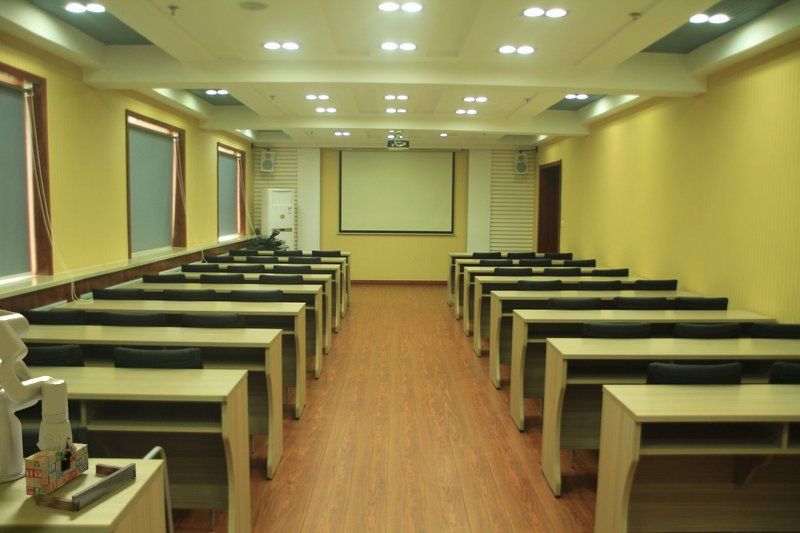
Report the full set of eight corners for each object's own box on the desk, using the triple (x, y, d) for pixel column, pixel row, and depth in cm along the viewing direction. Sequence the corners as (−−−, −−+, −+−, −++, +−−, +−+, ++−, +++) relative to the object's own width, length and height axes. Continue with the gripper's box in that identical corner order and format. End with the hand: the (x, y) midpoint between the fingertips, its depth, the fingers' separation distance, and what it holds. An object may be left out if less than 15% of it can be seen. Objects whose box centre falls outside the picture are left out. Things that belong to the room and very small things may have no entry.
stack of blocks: (73, 467, 218) (72, 434, 217) (89, 469, 216) (87, 436, 215) (25, 495, 197) (24, 458, 196) (42, 497, 196) (41, 460, 194)
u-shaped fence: (35, 505, 192) (34, 489, 192) (98, 471, 217) (98, 457, 217) (76, 512, 188) (75, 496, 187) (136, 477, 213) (135, 463, 212)
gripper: (25, 417, 203) (27, 469, 205) (66, 423, 198) (68, 476, 200) (44, 410, 210) (46, 460, 212) (85, 416, 205) (86, 467, 207)
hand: (57, 468), depth 206 cm, fingers closed on stack of blocks, 6 cm apart
